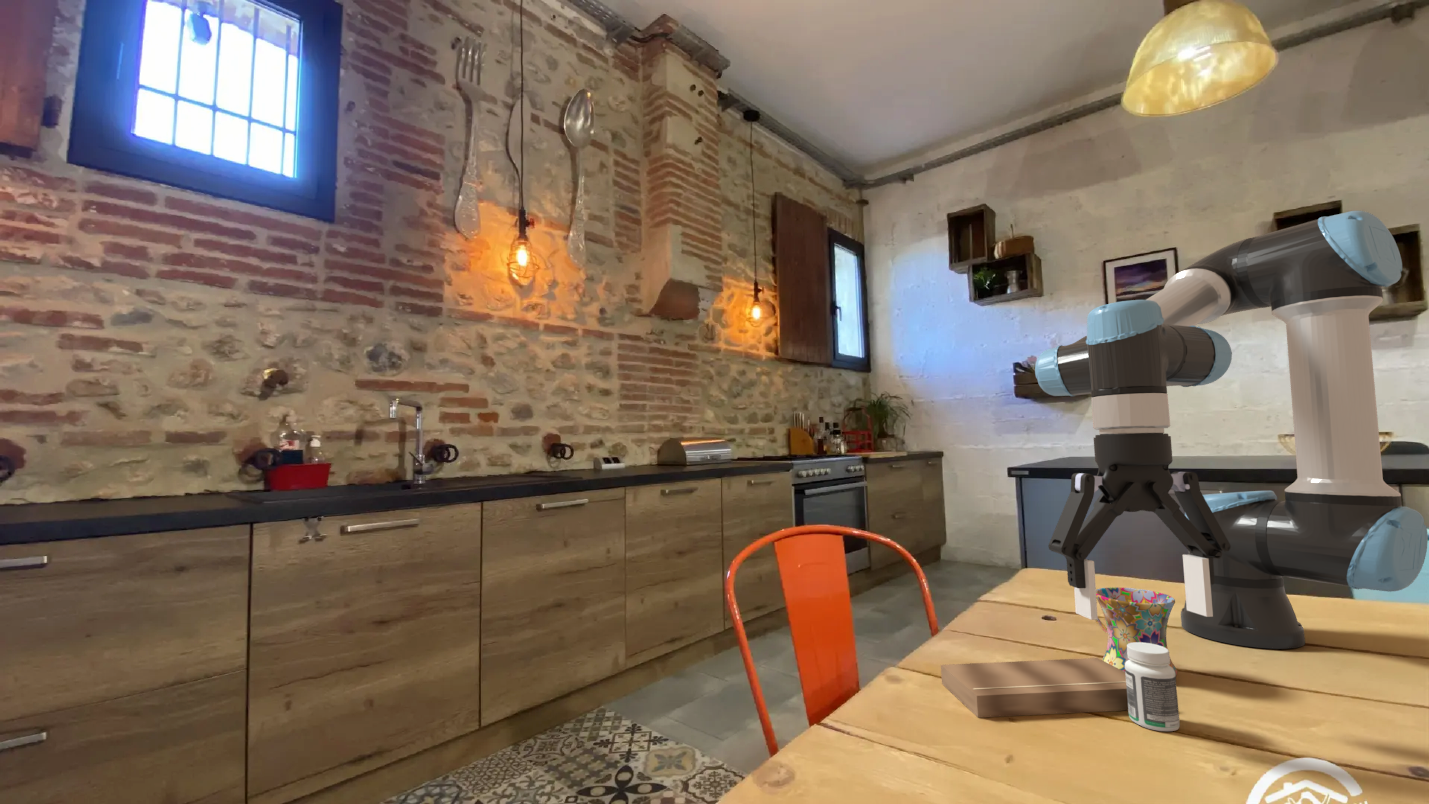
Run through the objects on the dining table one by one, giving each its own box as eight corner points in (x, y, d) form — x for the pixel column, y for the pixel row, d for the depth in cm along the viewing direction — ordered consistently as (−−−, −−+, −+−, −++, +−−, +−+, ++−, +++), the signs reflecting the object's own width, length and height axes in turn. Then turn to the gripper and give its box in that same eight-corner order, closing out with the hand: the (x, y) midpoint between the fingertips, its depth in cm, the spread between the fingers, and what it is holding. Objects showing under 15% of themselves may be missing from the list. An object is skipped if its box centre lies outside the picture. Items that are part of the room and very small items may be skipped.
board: (1098, 676, 81) (1097, 657, 81) (1156, 708, 71) (1154, 686, 71) (941, 683, 80) (940, 664, 80) (977, 717, 70) (976, 695, 70)
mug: (1199, 680, 79) (1192, 599, 80) (1146, 690, 76) (1139, 606, 77) (1116, 651, 90) (1110, 581, 91) (1067, 659, 88) (1062, 586, 89)
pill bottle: (1190, 728, 66) (1183, 651, 67) (1161, 736, 65) (1155, 657, 65) (1146, 710, 71) (1140, 638, 71) (1119, 718, 69) (1113, 644, 70)
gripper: (1203, 431, 74) (1217, 603, 73) (1011, 434, 73) (1020, 608, 72) (1261, 429, 67) (1278, 621, 65) (1047, 432, 66) (1059, 627, 64)
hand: (1143, 615), depth 68 cm, fingers open, 13 cm apart
